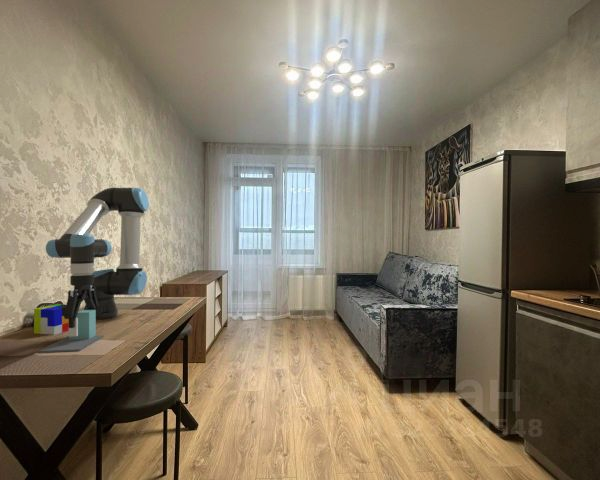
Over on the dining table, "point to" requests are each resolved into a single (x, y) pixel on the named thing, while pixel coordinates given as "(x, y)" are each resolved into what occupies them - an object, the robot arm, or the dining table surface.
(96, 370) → the dining table surface
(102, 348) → the dining table surface
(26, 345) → the dining table surface
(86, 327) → the teal block
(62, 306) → the puzzle toy
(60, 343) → the rubber mat
